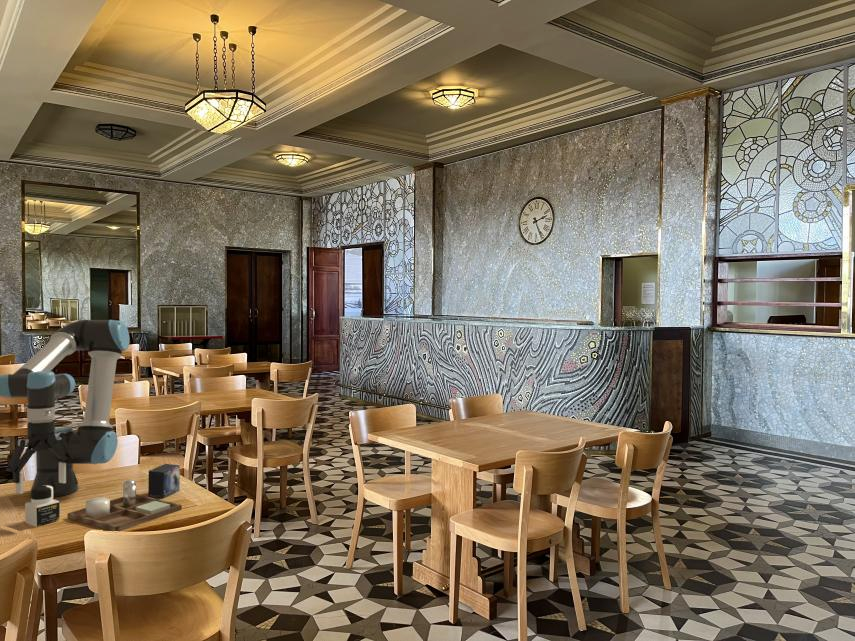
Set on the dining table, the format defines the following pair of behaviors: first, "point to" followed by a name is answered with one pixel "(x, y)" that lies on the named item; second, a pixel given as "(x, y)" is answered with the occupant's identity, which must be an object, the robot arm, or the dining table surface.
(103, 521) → the caddy
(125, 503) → the metal shaker
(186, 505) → the dining table surface
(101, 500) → the silver rounded block
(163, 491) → the small box
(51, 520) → the medicine bottle
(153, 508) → the napkin stack
